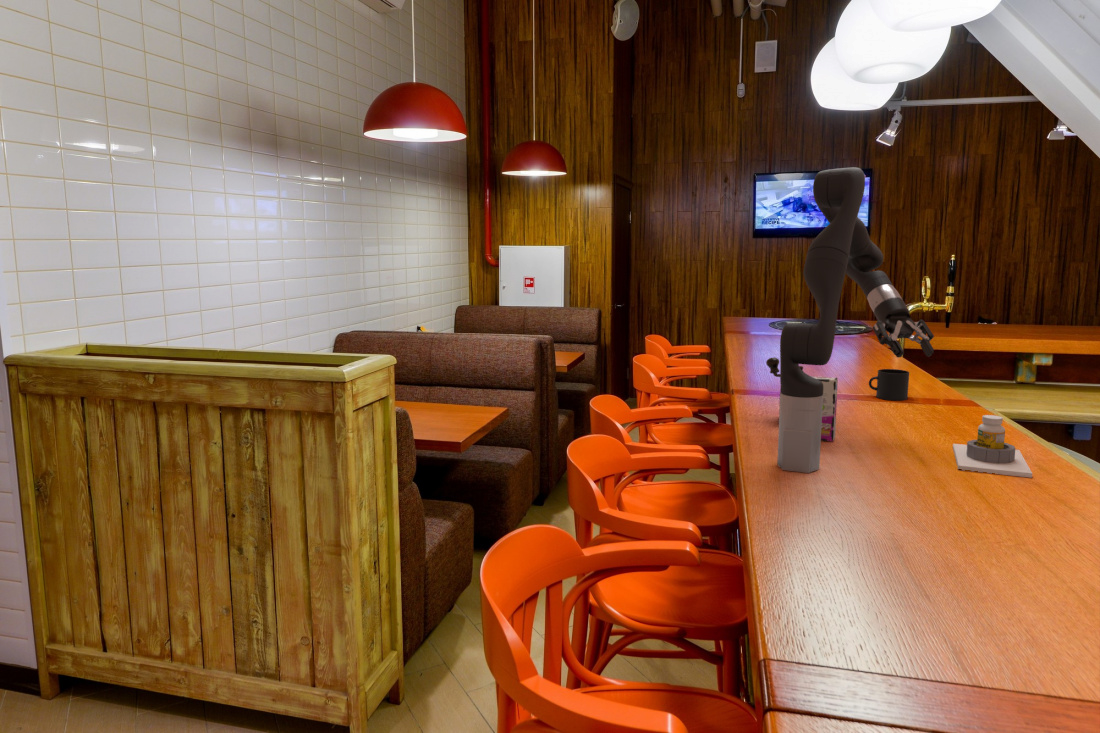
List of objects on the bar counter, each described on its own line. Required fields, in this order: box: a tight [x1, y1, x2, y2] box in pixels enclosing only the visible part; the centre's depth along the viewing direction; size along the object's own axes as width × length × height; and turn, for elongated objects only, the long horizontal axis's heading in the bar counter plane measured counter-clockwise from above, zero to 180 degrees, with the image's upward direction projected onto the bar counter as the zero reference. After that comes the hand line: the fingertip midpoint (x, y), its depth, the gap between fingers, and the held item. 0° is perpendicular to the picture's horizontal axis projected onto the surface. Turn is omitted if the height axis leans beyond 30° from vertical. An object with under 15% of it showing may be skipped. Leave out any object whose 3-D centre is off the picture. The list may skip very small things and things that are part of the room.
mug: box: [868, 368, 910, 402], centre depth 238 cm, size 9×12×9 cm
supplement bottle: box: [976, 414, 1006, 449], centre depth 167 cm, size 5×5×10 cm
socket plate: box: [952, 439, 1033, 478], centre depth 167 cm, size 20×14×4 cm
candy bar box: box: [810, 375, 839, 443], centre depth 189 cm, size 11×5×16 cm, turn 62°
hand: (915, 355), depth 177 cm, fingers open, 8 cm apart
